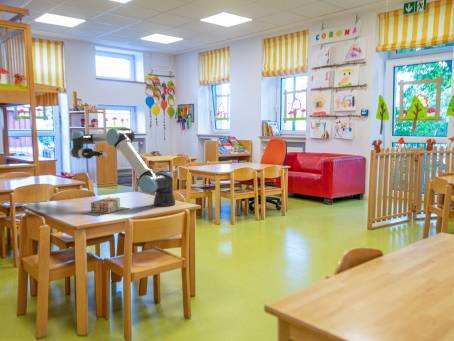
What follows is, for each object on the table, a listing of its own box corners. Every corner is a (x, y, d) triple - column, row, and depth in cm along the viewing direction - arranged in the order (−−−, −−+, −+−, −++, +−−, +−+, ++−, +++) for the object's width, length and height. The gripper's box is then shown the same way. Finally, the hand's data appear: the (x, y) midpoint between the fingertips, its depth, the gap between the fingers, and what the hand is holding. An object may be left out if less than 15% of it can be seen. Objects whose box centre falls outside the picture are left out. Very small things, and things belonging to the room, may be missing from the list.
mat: (129, 208, 275) (129, 208, 275) (97, 216, 251) (97, 215, 251) (115, 206, 281) (115, 206, 281) (82, 213, 257) (82, 213, 257)
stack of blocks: (107, 197, 281) (124, 198, 278) (107, 206, 281) (124, 207, 279) (90, 202, 260) (108, 203, 257) (90, 212, 260) (108, 213, 258)
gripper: (94, 157, 307) (114, 159, 293) (78, 158, 297) (98, 160, 283) (93, 147, 306) (113, 148, 292) (78, 148, 296) (98, 149, 282)
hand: (106, 154), depth 287 cm, fingers closed
